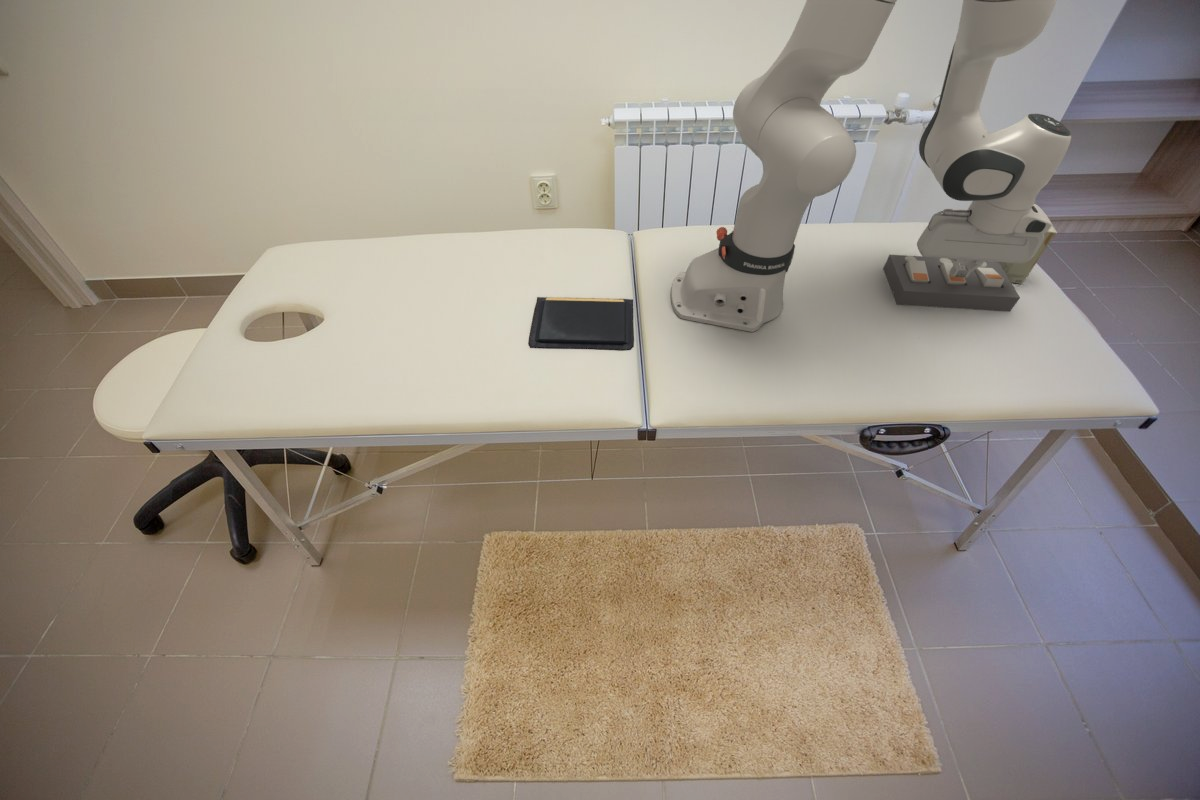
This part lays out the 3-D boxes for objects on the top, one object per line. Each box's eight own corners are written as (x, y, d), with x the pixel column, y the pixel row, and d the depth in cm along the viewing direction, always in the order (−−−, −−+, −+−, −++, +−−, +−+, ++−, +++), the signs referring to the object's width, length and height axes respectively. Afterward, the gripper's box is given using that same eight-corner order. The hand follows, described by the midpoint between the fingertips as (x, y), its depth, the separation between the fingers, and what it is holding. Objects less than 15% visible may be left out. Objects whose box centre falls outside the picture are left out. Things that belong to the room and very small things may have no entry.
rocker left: (908, 285, 115) (913, 279, 113) (904, 266, 117) (908, 259, 116) (925, 286, 115) (929, 280, 113) (920, 266, 117) (925, 260, 115)
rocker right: (983, 286, 113) (987, 277, 112) (972, 275, 117) (976, 266, 116) (1000, 287, 113) (1004, 278, 112) (988, 276, 117) (992, 267, 116)
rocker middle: (944, 287, 114) (949, 280, 113) (939, 268, 117) (943, 261, 115) (961, 288, 114) (966, 281, 112) (955, 269, 117) (960, 262, 115)
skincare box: (1022, 284, 118) (1058, 233, 109) (1000, 282, 119) (1034, 231, 110) (1014, 266, 123) (1048, 215, 113) (992, 263, 123) (1025, 213, 114)
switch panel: (896, 304, 114) (904, 290, 111) (883, 268, 122) (889, 254, 119) (1010, 311, 113) (1020, 297, 110) (988, 274, 121) (998, 260, 118)
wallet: (525, 342, 105) (536, 290, 115) (526, 350, 106) (537, 297, 116) (633, 347, 104) (635, 294, 114) (633, 355, 106) (635, 302, 116)
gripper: (941, 218, 100) (908, 281, 111) (1062, 226, 99) (1016, 289, 110) (931, 199, 104) (900, 261, 115) (1047, 206, 103) (1004, 269, 114)
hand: (957, 275), depth 112 cm, fingers closed
